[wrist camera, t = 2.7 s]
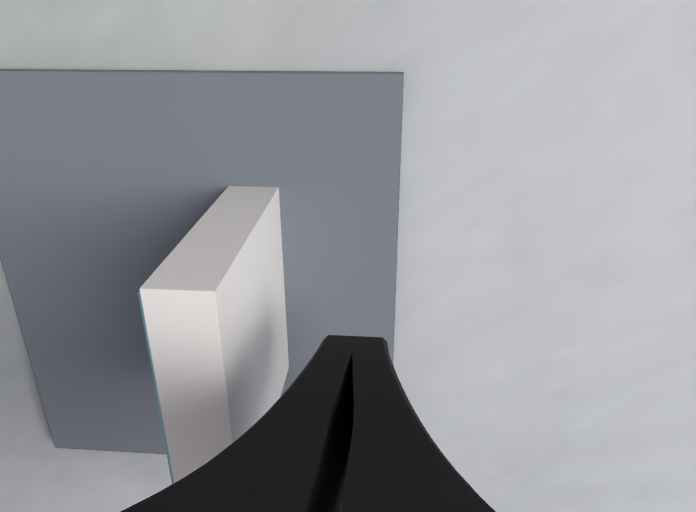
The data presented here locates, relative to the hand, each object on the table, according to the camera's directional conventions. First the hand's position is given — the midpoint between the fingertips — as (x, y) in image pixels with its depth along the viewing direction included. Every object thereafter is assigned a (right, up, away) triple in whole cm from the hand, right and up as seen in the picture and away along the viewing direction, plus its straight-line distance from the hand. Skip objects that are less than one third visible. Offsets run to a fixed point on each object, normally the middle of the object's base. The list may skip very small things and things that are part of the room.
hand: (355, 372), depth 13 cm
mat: (-5, +2, +5) cm, 7 cm away
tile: (-3, +2, +4) cm, 5 cm away
